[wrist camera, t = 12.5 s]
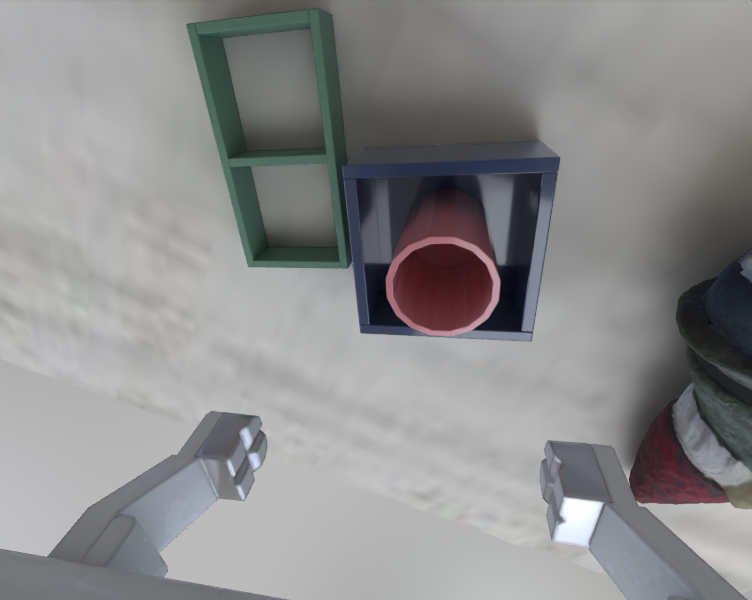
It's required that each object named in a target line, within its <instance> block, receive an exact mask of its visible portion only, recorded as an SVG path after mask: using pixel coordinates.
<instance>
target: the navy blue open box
mask: <svg viewBox="0 0 752 600" xmlns="http://www.w3.org/2000/svg"><path fill="white" fill-rule="evenodd" d="M559 163H560V157H559V156H558V155H557V154H556V153H555V152H553V151H552V150H551V149H550V148H549V147H547V146H546V145H545V144H544V143H543V142H541V141H540V140H528V141H506V142H485V143H463V144H441V145H420V146H398V147H377V148H364V149H363V150H361V151H360V152H359V153H357V154H356V155H355V156H353V157H352V158H351V159H350V160H348V161H347V162H346V163H345V164H343V165H342V170H343V178H344V188H345V197H346V206H347V215H348V225H349V234H350V243H351V252H352V261H353V271H354V280H355V289H356V298H357V307H358V316H359V324H360V333H366V334H387V335H408V336H428V337H449V338H470V339H490V340H511V341H532V335H533V329H534V323H535V316H536V310H537V303H538V297H539V290H540V284H541V277H542V271H543V265H544V258H545V252H546V245H547V239H548V232H549V226H550V220H551V213H552V207H553V200H554V194H555V187H556V181H557V174H558V173H557V172H558V169H559ZM440 190H456V191H460V192H464V193H466V194H468V195H470V196H471V197H473V198H474V199H475V200H477V201H478V202H479V203H480V205H481V206H482V207H483V209H484V211H485V213H486V215H487V218H488V221H489V224H490V229H491V234H492V239H493V244H494V249H495V254H496V259H497V264H498V269H499V274H500V280H501V284H500V295H499V301H498V303H497V305H496V307H495V308H494V310H493V311H492V313H491V315H490V316H489V318H488V319H487V320H485V321H484V322H483V323H481V324H480V325H479V326H477V327H476V328H474V329H473V330H471V331H468V332H465V333H461V334H458V335H454V336H434V335H428V334H426V333H423V332H420V331H418V330H415V329H413V328H411V327H409V326H408V325H407V324H406V323H405V322H404V321H402V320H401V319H400V318H399V317H398V316H397V315H396V314H395V312H394V310H393V308H392V307H391V305H390V303H389V301H388V299H387V293H386V276H387V273H388V270H389V268H390V265H391V262H392V259H393V257H394V254H395V251H396V248H397V245H398V243H399V240H400V237H401V234H402V232H403V229H404V226H405V223H406V221H407V218H408V216H409V213H410V211H411V210H412V208H413V207H414V206H415V204H416V203H417V202H418V201H419V200H421V199H422V198H423V197H425V196H427V195H428V194H430V193H433V192H436V191H440Z"/></svg>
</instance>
